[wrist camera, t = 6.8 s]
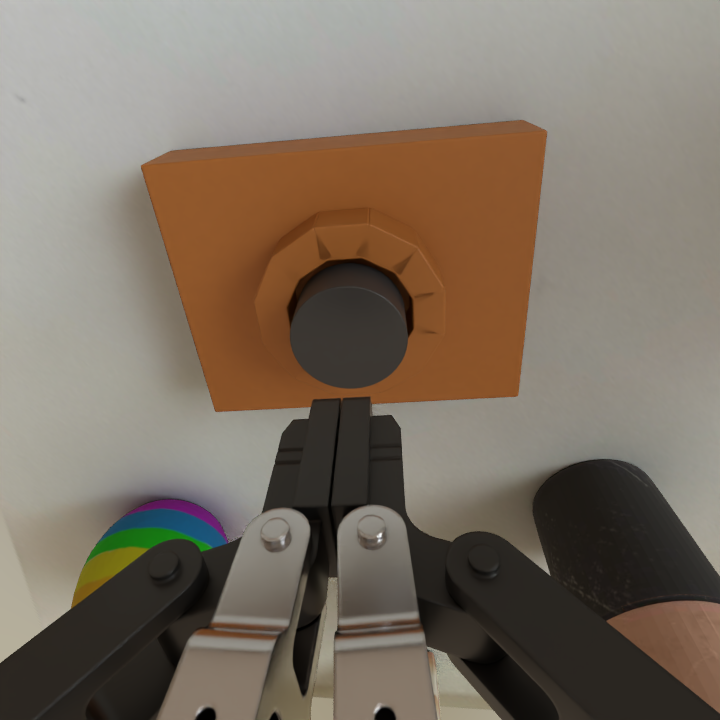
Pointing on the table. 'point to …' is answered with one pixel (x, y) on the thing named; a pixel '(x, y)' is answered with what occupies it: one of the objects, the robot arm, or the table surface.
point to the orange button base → (356, 253)
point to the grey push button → (349, 326)
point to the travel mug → (634, 566)
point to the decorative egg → (146, 539)
